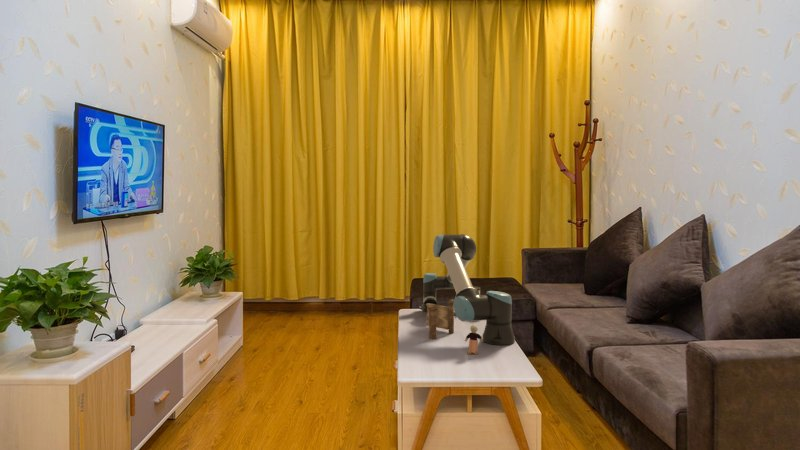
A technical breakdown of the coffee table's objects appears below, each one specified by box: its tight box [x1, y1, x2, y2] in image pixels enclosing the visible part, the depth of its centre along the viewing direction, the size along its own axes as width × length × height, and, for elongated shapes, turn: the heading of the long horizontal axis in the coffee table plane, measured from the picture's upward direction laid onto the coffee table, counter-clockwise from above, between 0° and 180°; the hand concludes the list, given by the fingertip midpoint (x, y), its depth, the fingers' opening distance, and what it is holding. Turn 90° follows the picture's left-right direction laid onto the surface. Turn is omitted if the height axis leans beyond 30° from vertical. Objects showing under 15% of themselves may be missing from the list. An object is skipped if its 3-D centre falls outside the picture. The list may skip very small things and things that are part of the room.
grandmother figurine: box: [464, 324, 484, 355], centre depth 226 cm, size 8×4×13 cm, turn 89°
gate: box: [425, 303, 449, 331], centre depth 265 cm, size 14×2×11 cm, turn 49°
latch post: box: [428, 307, 438, 340], centre depth 249 cm, size 3×3×15 cm
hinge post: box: [447, 298, 455, 335], centre depth 259 cm, size 3×3×17 cm
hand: (431, 313), depth 271 cm, fingers closed
